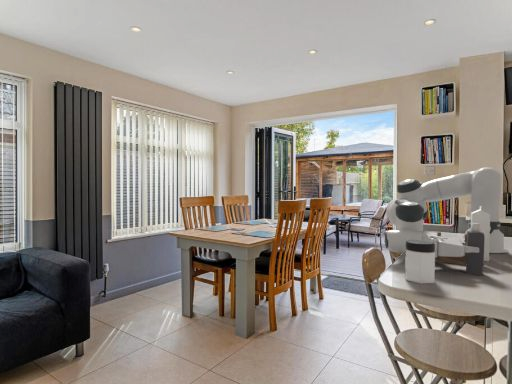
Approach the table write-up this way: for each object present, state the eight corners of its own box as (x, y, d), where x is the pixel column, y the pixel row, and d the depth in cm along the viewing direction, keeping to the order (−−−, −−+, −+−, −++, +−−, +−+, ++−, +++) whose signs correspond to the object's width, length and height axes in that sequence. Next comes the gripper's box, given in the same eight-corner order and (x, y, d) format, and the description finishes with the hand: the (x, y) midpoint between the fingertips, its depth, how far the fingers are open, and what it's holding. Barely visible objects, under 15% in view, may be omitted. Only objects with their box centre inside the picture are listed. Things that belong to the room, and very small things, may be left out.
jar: (403, 274, 106) (404, 238, 106) (431, 277, 103) (432, 240, 103) (405, 282, 98) (406, 242, 98) (435, 285, 95) (437, 245, 95)
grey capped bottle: (466, 270, 113) (467, 222, 113) (481, 272, 111) (482, 223, 111) (467, 273, 109) (468, 223, 109) (482, 275, 107) (484, 224, 107)
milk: (471, 259, 131) (472, 206, 131) (469, 256, 137) (470, 205, 136) (489, 261, 128) (490, 206, 128) (487, 258, 134) (488, 205, 133)
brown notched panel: (423, 258, 131) (424, 230, 131) (482, 265, 121) (483, 235, 121) (423, 259, 129) (423, 231, 129) (483, 266, 119) (484, 235, 119)
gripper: (432, 248, 125) (474, 252, 119) (431, 258, 108) (481, 263, 101) (432, 232, 125) (475, 235, 118) (431, 239, 107) (482, 243, 101)
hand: (478, 248), depth 109 cm, fingers closed on grey capped bottle, 4 cm apart
